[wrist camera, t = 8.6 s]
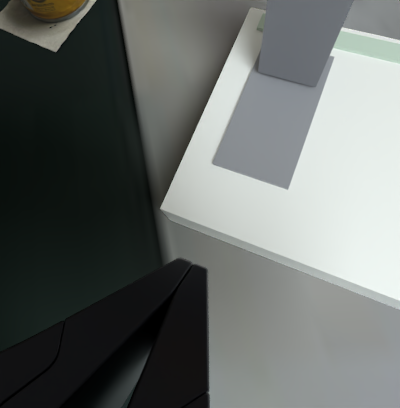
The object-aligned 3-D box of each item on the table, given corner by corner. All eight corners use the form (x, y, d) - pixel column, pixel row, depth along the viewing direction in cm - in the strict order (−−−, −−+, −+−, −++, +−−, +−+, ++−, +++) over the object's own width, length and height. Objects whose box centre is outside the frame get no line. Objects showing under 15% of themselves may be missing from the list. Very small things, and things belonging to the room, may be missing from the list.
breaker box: (577, 379, 15) (669, 403, 12) (170, 220, 19) (159, 207, 16) (600, 130, 18) (676, 97, 15) (248, 42, 22) (250, 4, 19)
